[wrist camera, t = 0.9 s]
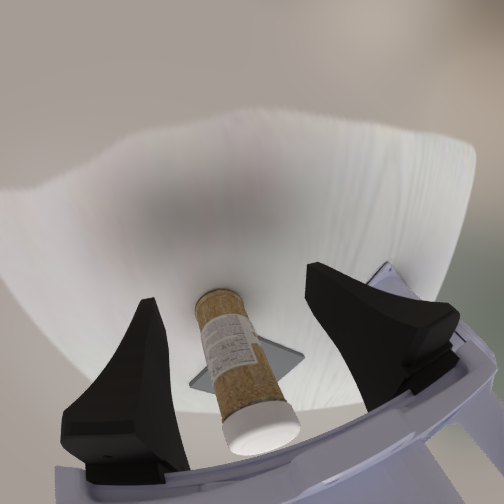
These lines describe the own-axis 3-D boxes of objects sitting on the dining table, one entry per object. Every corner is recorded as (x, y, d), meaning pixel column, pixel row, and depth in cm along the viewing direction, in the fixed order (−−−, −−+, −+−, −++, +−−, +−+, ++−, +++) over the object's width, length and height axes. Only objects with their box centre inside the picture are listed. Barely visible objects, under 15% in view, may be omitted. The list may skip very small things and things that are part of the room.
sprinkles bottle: (244, 319, 26) (300, 442, 15) (198, 330, 25) (234, 462, 14) (240, 282, 24) (306, 417, 13) (188, 293, 23) (224, 442, 12)
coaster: (303, 354, 32) (305, 357, 31) (250, 398, 34) (252, 402, 33) (243, 329, 27) (245, 333, 26) (189, 383, 29) (189, 387, 28)
